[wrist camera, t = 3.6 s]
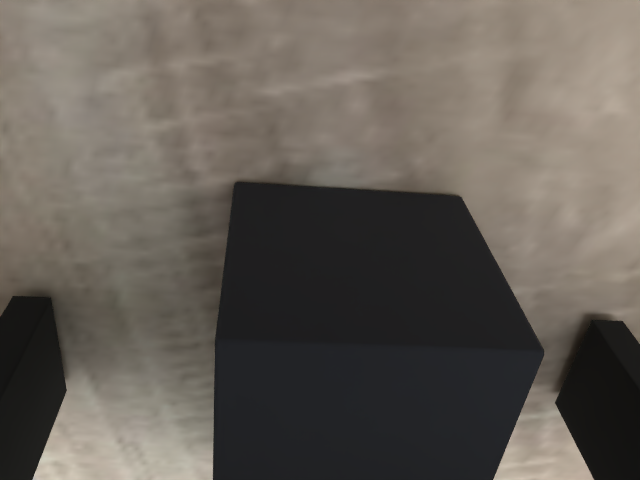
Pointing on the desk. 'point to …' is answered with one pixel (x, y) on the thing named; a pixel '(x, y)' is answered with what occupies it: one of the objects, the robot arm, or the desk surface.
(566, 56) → the desk surface
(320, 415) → the black rectangular block
